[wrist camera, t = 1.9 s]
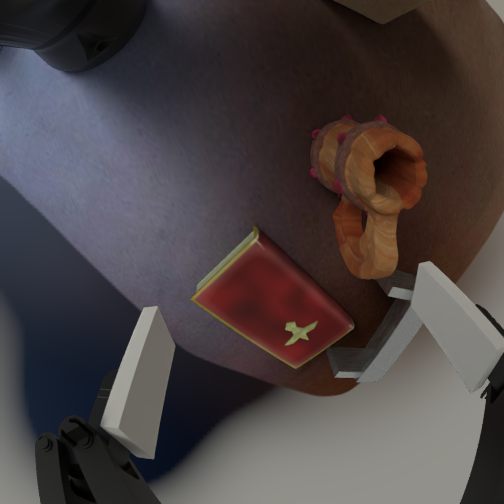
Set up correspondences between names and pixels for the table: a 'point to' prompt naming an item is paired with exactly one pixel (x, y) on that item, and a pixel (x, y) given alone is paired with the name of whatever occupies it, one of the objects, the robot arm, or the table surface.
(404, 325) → the end cap
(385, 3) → the wooden block
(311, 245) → the table surface
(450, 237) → the table surface
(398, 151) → the mug
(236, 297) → the hardcover book
